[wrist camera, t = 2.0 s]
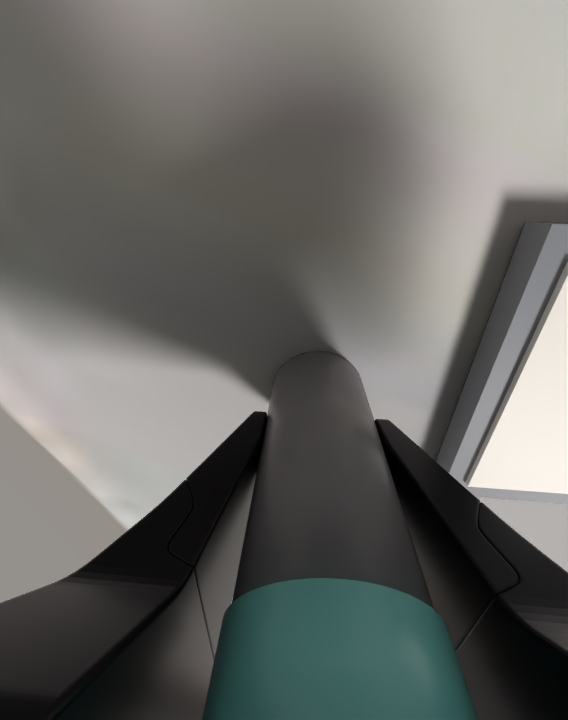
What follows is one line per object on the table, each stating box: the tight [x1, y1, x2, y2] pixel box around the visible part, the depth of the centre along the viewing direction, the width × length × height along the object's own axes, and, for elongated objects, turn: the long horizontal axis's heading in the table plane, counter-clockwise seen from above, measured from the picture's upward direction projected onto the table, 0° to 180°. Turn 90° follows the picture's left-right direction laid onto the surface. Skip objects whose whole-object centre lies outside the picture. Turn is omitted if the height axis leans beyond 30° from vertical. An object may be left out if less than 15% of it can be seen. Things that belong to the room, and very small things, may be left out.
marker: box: [202, 351, 478, 720], centre depth 7 cm, size 4×4×9 cm
